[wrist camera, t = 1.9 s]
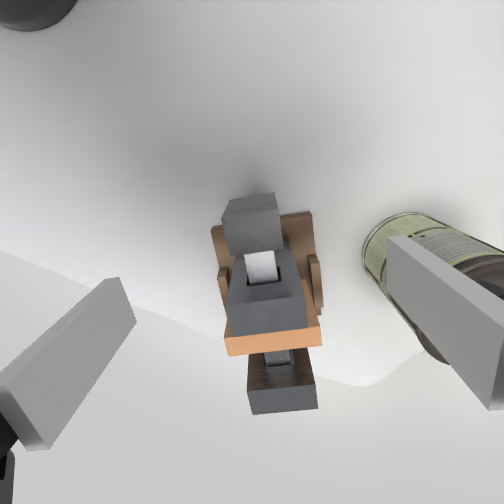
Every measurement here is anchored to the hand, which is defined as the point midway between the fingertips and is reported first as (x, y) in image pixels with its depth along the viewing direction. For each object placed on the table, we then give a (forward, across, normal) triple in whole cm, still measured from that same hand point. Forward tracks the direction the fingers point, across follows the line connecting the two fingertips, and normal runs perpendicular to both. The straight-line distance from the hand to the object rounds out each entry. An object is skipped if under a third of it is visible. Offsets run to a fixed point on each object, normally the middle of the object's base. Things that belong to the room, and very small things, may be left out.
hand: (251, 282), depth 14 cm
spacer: (+14, 0, -9) cm, 17 cm away
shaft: (+13, 0, -8) cm, 15 cm away
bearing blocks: (+19, 0, -11) cm, 22 cm away
